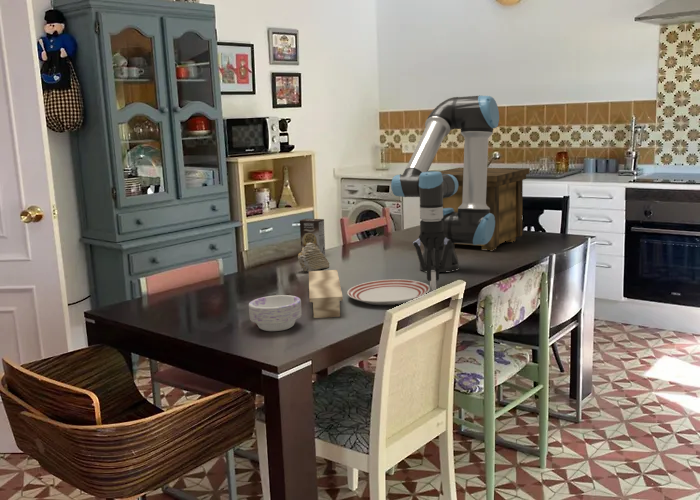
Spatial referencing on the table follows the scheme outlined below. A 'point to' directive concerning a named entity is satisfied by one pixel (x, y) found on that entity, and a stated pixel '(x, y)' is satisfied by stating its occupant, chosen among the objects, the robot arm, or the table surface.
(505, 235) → the crate
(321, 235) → the coffee box
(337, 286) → the long wooden block
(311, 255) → the fossil tooth
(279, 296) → the paper bowls
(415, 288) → the dinner plate
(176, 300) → the table surface
